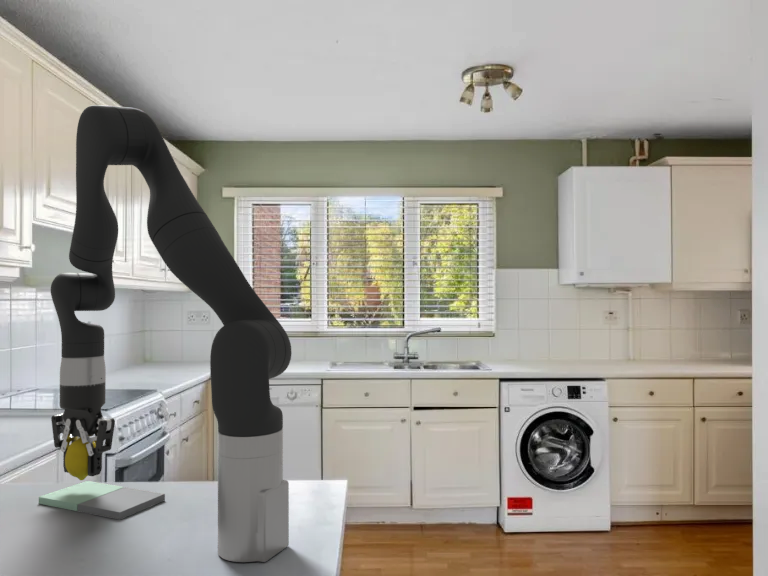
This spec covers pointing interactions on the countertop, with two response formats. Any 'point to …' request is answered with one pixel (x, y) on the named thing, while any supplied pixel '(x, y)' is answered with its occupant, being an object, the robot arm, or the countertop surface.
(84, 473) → the lemon
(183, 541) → the countertop surface
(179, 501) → the countertop surface
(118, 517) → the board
